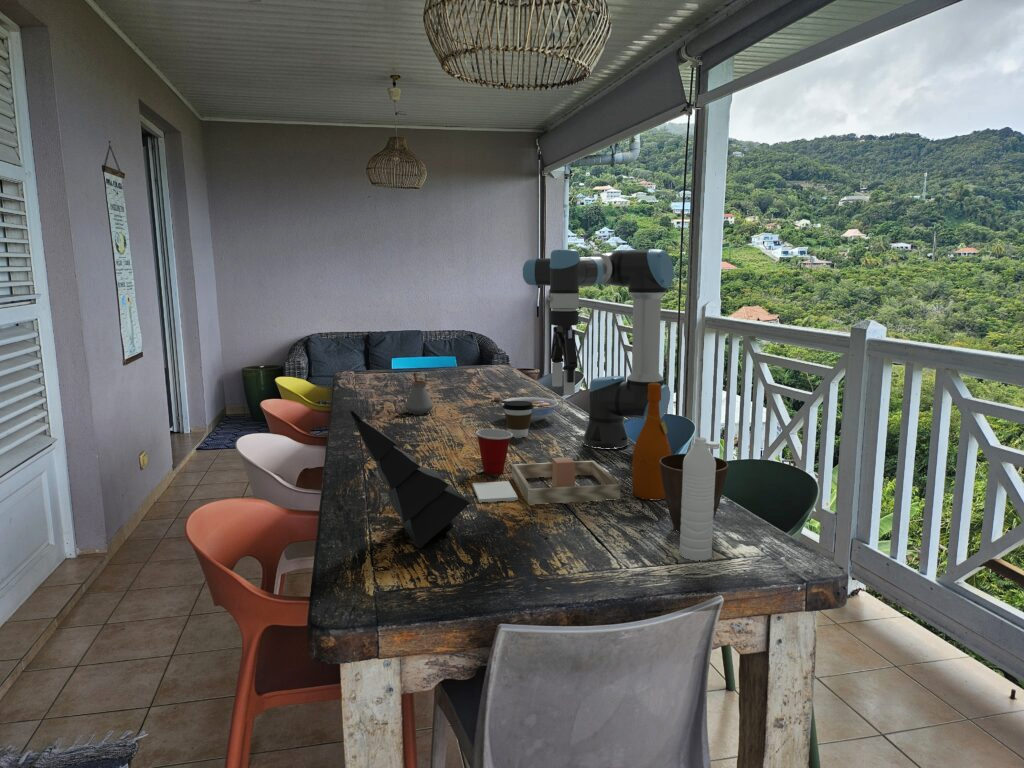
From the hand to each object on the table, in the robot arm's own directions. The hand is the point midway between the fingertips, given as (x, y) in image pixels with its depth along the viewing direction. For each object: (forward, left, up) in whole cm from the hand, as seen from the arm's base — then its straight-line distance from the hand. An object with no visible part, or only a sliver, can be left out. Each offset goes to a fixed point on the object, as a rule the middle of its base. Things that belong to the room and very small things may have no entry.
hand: (562, 390), depth 187 cm
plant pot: (-21, +35, -27) cm, 49 cm away
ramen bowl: (-8, -87, -27) cm, 91 cm away
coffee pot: (+34, -115, -27) cm, 123 cm away
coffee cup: (+1, -62, -27) cm, 67 cm away
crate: (0, 0, -27) cm, 27 cm away
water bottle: (-16, +50, -27) cm, 59 cm away
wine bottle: (-21, +10, -27) cm, 36 cm away
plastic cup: (+16, -19, -27) cm, 36 cm away
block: (0, 0, -27) cm, 27 cm away
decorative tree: (+42, +29, -27) cm, 58 cm away
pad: (+19, +1, -27) cm, 33 cm away
